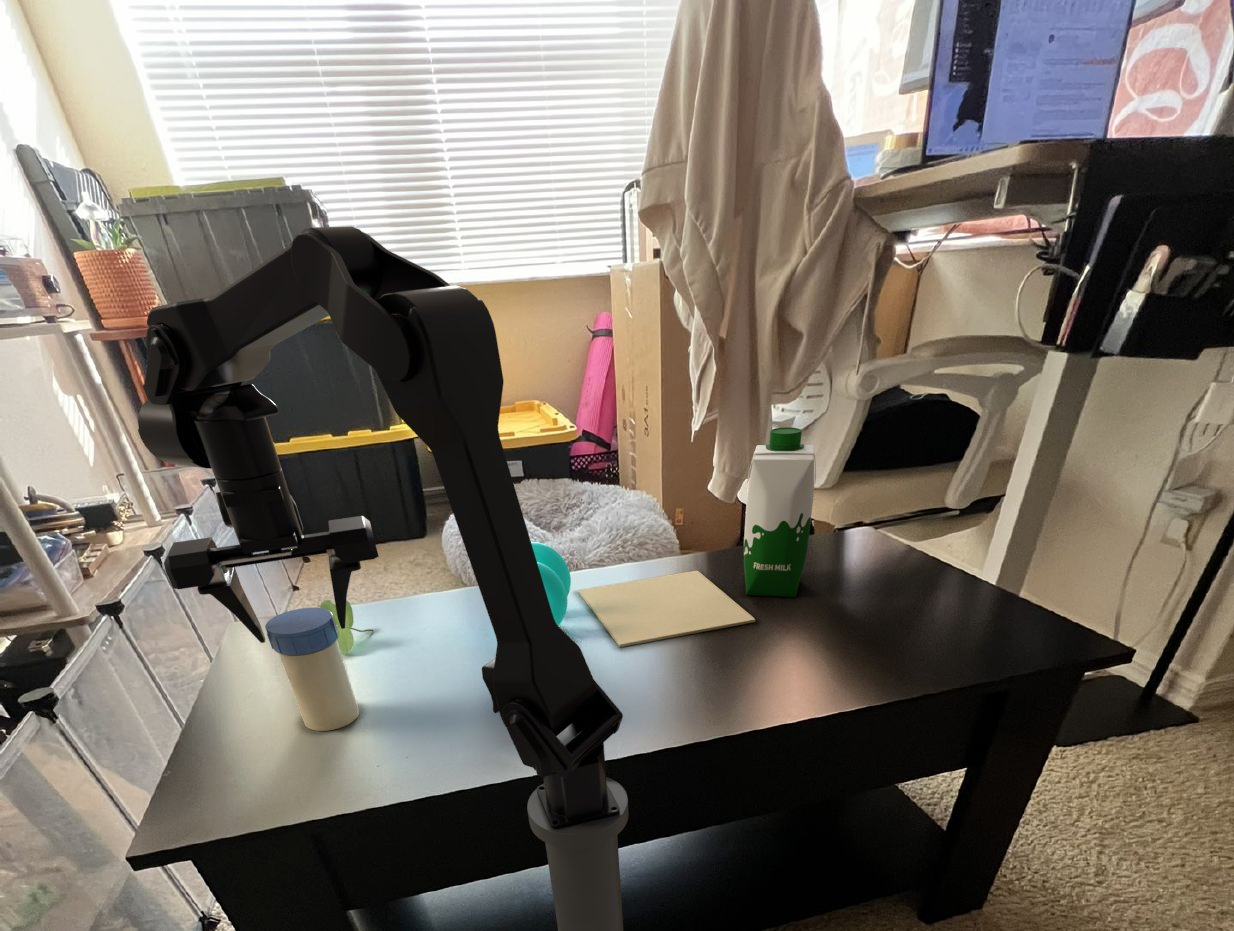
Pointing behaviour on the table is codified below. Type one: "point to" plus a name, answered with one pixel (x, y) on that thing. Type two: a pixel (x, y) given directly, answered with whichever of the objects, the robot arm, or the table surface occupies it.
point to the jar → (321, 688)
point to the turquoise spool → (553, 578)
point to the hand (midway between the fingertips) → (303, 634)
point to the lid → (302, 631)
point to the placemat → (663, 608)
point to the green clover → (345, 635)
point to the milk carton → (778, 514)
